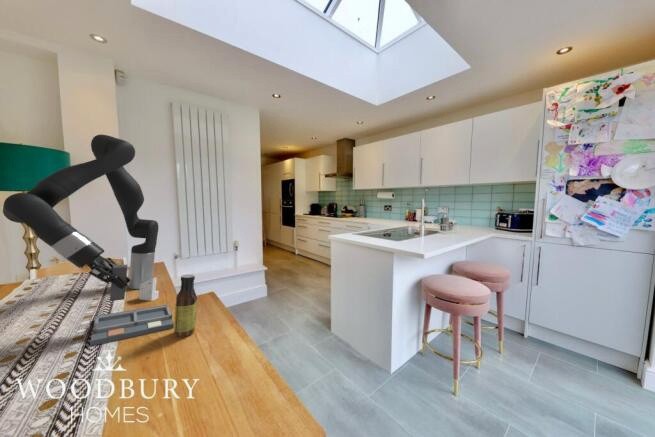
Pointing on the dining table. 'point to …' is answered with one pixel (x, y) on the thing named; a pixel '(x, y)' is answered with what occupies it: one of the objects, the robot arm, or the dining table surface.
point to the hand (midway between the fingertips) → (126, 284)
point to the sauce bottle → (185, 307)
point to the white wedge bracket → (149, 290)
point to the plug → (115, 291)
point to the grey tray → (130, 324)
